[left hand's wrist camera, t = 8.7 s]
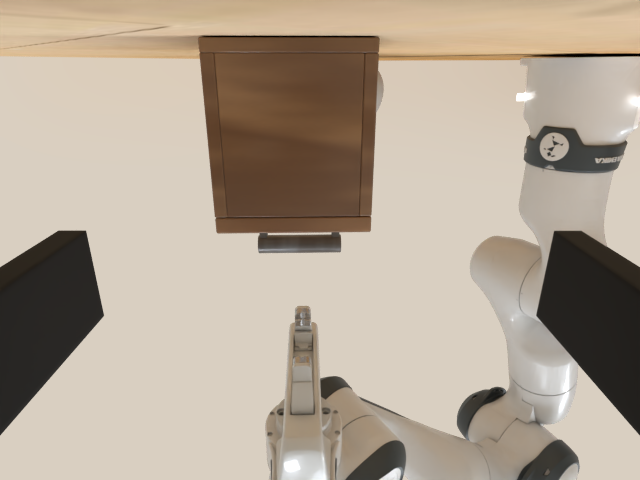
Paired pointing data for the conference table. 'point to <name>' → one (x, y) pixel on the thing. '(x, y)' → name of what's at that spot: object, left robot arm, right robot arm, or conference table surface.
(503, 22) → the conference table surface
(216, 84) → the chest
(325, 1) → the conference table surface
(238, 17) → the conference table surface
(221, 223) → the lid
